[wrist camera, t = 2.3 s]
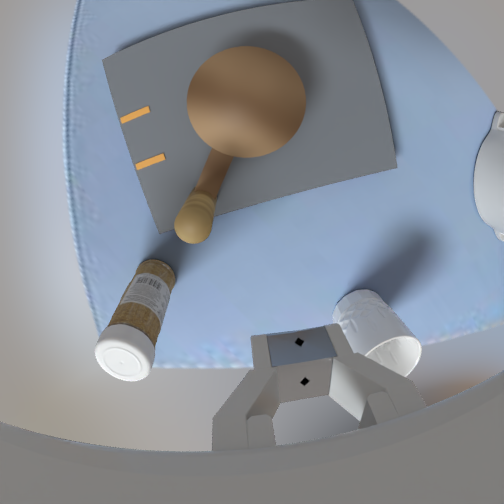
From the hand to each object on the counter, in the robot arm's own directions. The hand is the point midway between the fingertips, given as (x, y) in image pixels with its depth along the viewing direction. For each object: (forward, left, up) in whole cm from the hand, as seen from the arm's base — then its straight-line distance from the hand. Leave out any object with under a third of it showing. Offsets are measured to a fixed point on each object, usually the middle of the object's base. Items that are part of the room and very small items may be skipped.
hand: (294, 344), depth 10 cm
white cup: (-9, +17, -21) cm, 28 cm away
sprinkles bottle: (+12, +5, -21) cm, 25 cm away
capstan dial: (0, -7, -18) cm, 20 cm away
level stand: (-3, -9, -21) cm, 23 cm away
